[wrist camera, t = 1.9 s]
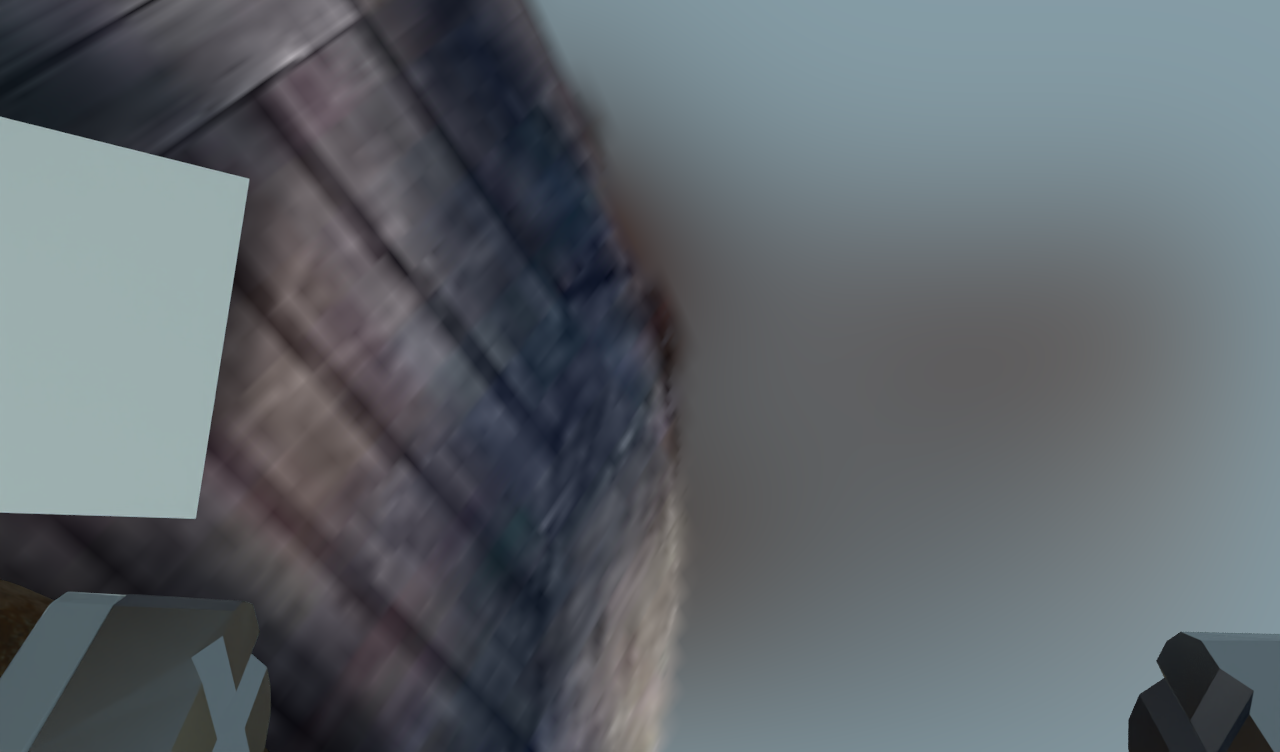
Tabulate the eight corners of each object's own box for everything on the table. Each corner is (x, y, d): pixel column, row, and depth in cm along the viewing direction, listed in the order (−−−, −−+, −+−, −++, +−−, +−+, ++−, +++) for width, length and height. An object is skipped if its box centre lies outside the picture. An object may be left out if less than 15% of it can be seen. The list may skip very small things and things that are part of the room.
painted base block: (-257, 473, 36) (-268, 504, 31) (-193, 93, 36) (-195, 68, 32) (157, 492, 45) (195, 518, 40) (205, 187, 45) (249, 178, 41)
